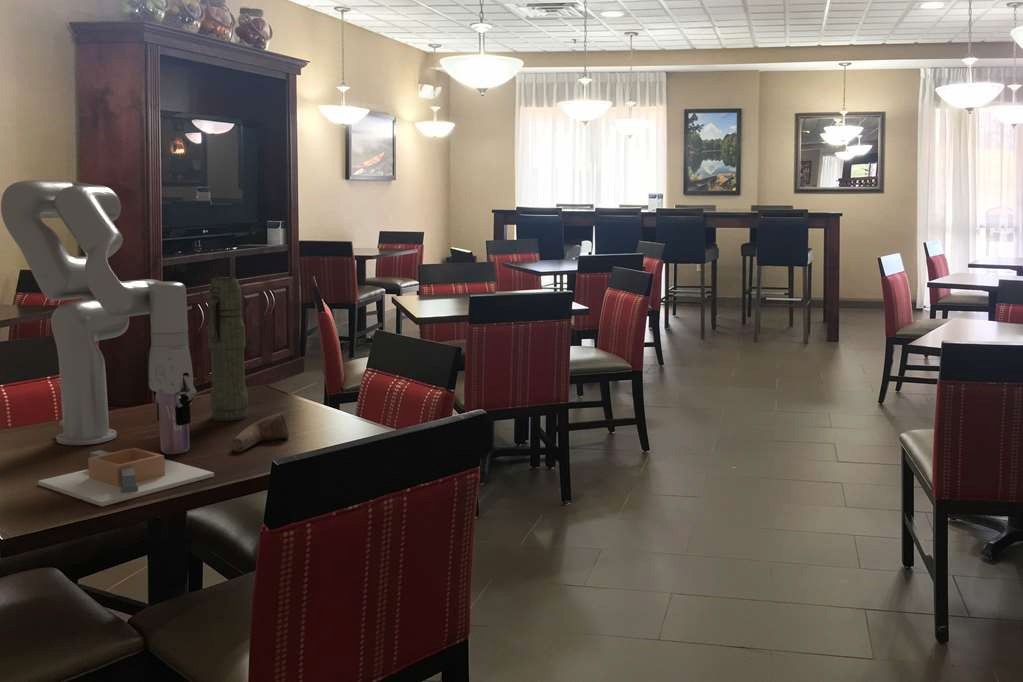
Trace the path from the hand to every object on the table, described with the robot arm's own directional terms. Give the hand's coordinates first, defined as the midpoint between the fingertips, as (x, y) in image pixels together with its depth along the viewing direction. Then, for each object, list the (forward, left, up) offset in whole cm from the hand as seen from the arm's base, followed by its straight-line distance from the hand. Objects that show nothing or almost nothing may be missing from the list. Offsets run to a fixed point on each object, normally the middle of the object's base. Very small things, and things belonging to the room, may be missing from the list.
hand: (174, 421), depth 216 cm
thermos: (-18, +28, -7) cm, 34 cm away
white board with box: (+12, -19, -7) cm, 23 cm away
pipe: (+9, +16, -7) cm, 20 cm away
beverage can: (0, 0, -7) cm, 7 cm away
